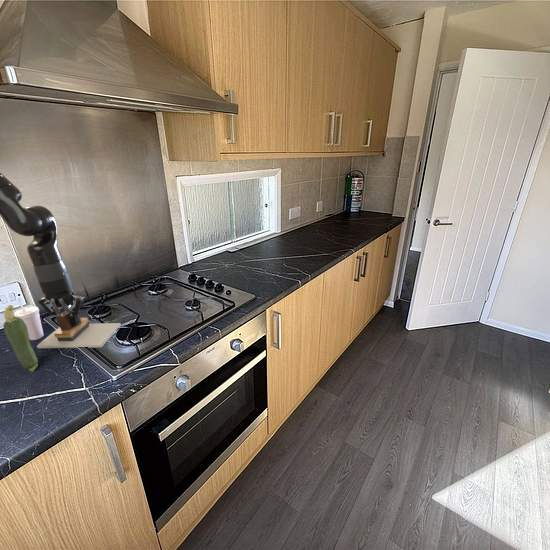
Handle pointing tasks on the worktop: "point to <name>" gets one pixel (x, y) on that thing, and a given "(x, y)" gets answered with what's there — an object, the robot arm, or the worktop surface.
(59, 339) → the brush
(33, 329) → the smoothie
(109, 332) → the tile
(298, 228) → the worktop surface
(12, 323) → the vegetable
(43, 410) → the worktop surface
